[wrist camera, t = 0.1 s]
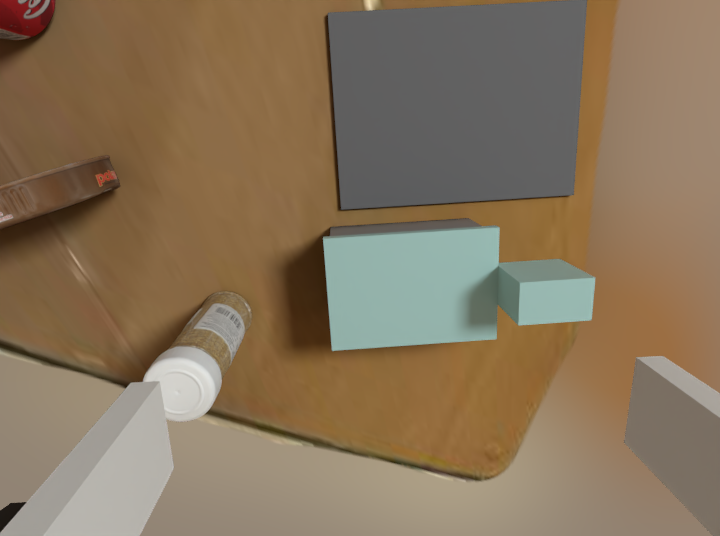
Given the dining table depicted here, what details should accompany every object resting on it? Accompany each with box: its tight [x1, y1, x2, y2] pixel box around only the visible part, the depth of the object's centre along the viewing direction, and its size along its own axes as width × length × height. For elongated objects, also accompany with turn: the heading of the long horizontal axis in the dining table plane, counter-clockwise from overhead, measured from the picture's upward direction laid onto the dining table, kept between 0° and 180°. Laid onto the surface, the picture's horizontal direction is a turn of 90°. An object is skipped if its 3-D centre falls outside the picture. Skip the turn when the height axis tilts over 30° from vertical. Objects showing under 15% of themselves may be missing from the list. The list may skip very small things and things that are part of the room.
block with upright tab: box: [323, 226, 595, 351], centre depth 33 cm, size 9×18×6 cm, turn 93°
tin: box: [0, 155, 120, 229], centre depth 34 cm, size 15×3×8 cm, turn 107°
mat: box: [328, 0, 587, 210], centre depth 37 cm, size 15×20×1 cm
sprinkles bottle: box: [143, 291, 252, 422], centre depth 35 cm, size 5×5×13 cm
